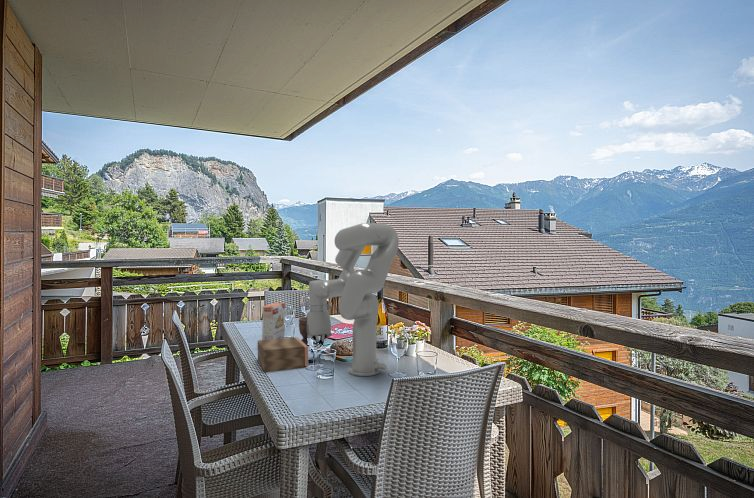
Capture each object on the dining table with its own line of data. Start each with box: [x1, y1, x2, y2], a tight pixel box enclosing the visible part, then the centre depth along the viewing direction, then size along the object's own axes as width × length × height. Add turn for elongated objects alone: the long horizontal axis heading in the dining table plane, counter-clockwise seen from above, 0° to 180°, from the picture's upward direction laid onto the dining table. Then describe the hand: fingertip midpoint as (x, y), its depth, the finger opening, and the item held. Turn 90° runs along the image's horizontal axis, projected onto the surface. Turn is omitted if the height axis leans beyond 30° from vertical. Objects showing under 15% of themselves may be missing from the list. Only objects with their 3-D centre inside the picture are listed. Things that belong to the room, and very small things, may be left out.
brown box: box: [257, 336, 305, 373], centre depth 182 cm, size 16×18×9 cm
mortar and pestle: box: [298, 316, 308, 345], centre depth 217 cm, size 12×9×20 cm
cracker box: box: [261, 302, 286, 340], centre depth 211 cm, size 14×6×21 cm, turn 168°
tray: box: [294, 337, 309, 367], centre depth 183 cm, size 16×18×8 cm
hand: (319, 350), depth 188 cm, fingers closed
